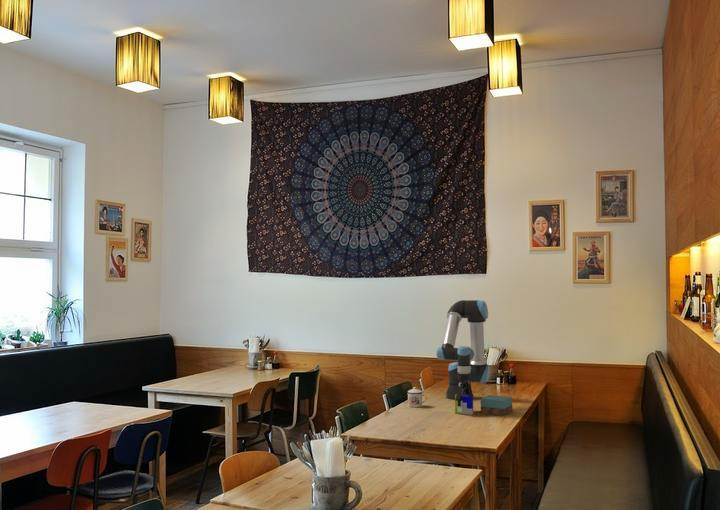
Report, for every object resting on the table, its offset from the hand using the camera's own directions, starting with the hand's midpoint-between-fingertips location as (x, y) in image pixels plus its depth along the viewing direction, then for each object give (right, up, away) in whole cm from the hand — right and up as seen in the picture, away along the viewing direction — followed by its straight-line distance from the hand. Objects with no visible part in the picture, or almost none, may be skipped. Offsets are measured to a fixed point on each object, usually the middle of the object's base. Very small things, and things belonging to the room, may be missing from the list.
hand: (464, 410), depth 388 cm
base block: (+19, -2, 0) cm, 19 cm away
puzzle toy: (0, -2, 0) cm, 2 cm away
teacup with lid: (-26, -2, +19) cm, 32 cm away
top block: (+19, +3, 0) cm, 19 cm away
